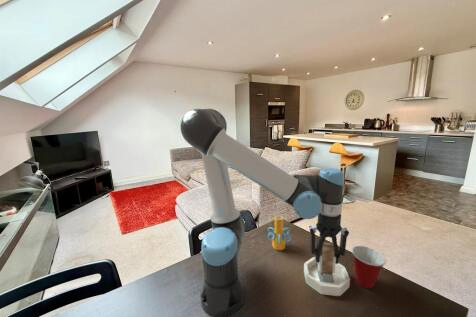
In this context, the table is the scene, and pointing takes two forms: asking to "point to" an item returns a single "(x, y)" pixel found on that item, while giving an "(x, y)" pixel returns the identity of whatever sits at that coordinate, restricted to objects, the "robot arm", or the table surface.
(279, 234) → the yellow blue ringed piece
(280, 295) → the table surface
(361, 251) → the plastic cup
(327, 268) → the long cardboard-colored beam
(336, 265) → the white octagonal tray
